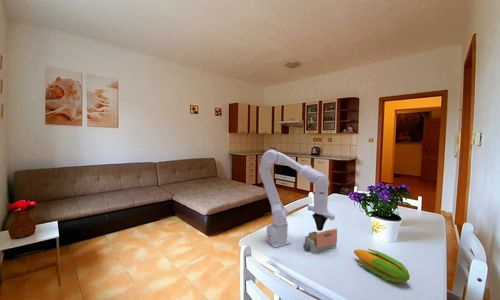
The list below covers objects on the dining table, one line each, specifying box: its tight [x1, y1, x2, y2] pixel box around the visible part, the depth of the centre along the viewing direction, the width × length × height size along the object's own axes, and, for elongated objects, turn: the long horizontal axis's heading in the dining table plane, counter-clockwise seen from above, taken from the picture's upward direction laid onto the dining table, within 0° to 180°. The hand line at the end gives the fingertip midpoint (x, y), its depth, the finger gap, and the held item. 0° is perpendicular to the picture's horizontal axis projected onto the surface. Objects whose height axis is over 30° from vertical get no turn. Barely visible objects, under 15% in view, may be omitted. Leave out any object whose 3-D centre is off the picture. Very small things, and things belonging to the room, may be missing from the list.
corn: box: [353, 248, 410, 284], centre depth 81 cm, size 7×8×20 cm
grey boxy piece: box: [303, 235, 337, 254], centre depth 98 cm, size 16×5×6 cm, turn 117°
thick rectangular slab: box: [316, 228, 338, 248], centre depth 95 cm, size 11×1×6 cm, turn 117°
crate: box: [308, 230, 318, 246], centre depth 96 cm, size 4×4×4 cm
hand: (319, 230), depth 99 cm, fingers closed
